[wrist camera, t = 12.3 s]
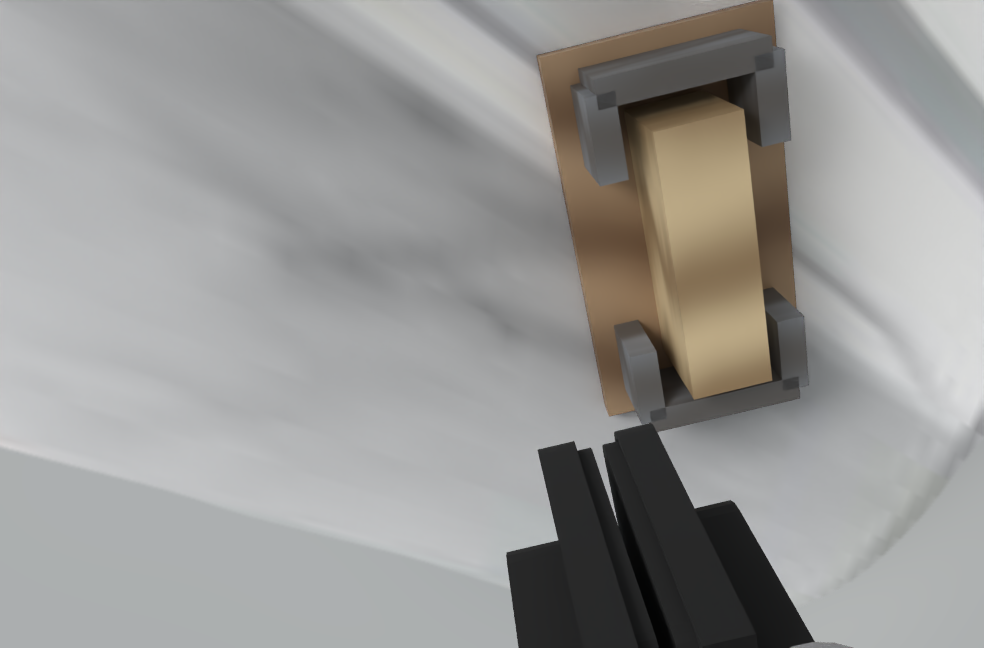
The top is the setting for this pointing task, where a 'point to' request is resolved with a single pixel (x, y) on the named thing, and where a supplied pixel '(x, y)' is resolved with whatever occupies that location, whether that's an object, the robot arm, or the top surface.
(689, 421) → the rail
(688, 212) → the beige rectangular block
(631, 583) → the robot arm
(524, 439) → the top surface
